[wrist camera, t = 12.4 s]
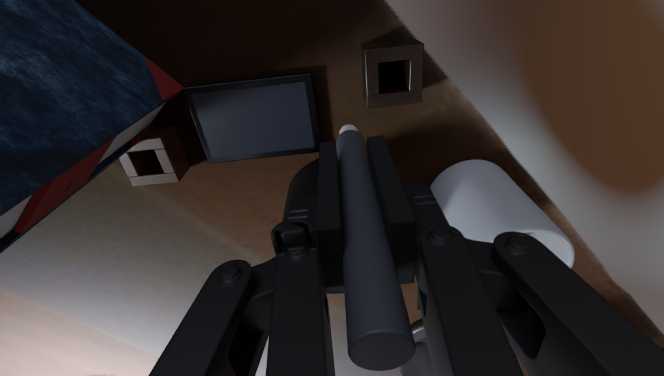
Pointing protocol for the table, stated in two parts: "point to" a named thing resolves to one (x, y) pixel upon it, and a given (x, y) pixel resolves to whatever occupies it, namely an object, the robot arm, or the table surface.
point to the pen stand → (168, 153)
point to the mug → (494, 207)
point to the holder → (411, 72)
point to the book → (65, 106)
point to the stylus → (369, 266)
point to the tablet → (255, 117)
